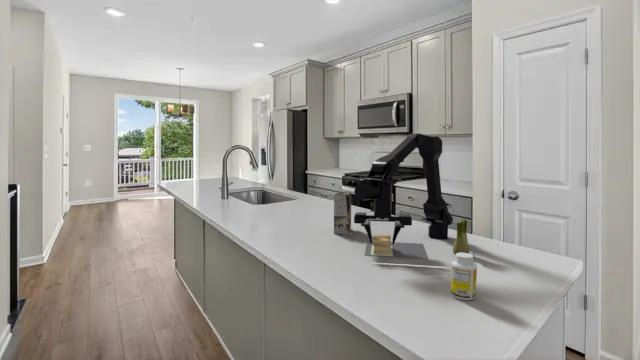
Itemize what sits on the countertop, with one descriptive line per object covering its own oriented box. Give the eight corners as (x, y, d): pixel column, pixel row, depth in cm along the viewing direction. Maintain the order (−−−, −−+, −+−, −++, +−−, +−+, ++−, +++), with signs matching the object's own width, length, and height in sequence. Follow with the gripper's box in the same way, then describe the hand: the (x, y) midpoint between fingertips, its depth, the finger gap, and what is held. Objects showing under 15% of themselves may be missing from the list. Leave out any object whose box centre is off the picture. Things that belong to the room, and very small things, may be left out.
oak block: (390, 254, 114) (390, 241, 114) (373, 253, 115) (373, 240, 115) (390, 246, 123) (390, 234, 122) (374, 245, 124) (374, 233, 123)
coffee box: (349, 234, 143) (349, 195, 141) (333, 233, 144) (333, 194, 142) (351, 229, 152) (351, 192, 150) (336, 228, 153) (336, 191, 151)
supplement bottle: (466, 290, 88) (468, 250, 87) (480, 300, 82) (482, 257, 81) (446, 292, 87) (447, 252, 86) (458, 302, 81) (460, 259, 80)
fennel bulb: (457, 258, 113) (459, 221, 111) (448, 254, 117) (449, 218, 116) (473, 257, 114) (474, 220, 113) (463, 252, 119) (464, 217, 118)
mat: (422, 245, 128) (422, 243, 127) (428, 261, 110) (428, 258, 110) (367, 242, 131) (367, 240, 131) (364, 257, 114) (364, 255, 113)
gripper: (410, 195, 123) (409, 238, 125) (356, 193, 127) (356, 236, 128) (412, 200, 112) (411, 247, 114) (354, 198, 116) (353, 244, 117)
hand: (382, 243), depth 119 cm, fingers open, 7 cm apart
